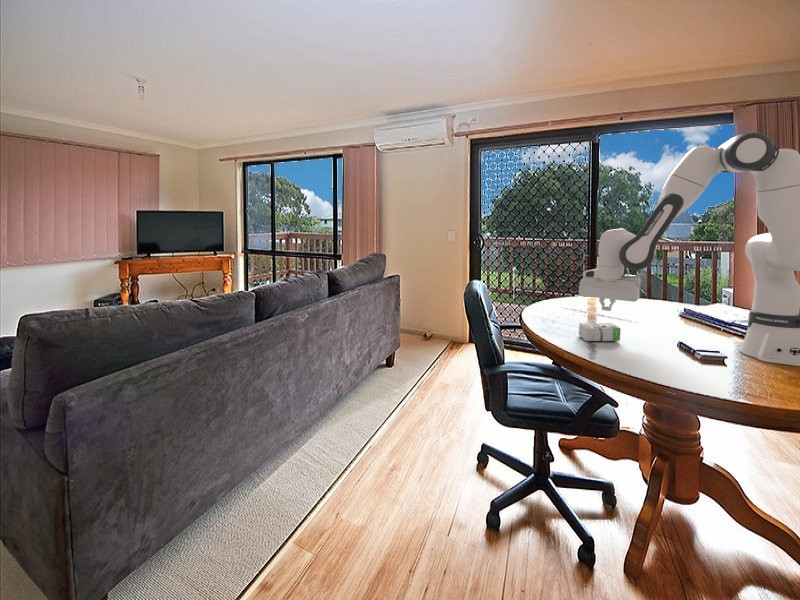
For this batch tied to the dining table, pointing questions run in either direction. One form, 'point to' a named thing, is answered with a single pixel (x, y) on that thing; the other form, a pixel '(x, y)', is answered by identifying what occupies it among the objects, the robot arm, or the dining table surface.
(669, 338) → the dining table surface
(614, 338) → the ink box
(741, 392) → the dining table surface
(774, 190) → the robot arm
